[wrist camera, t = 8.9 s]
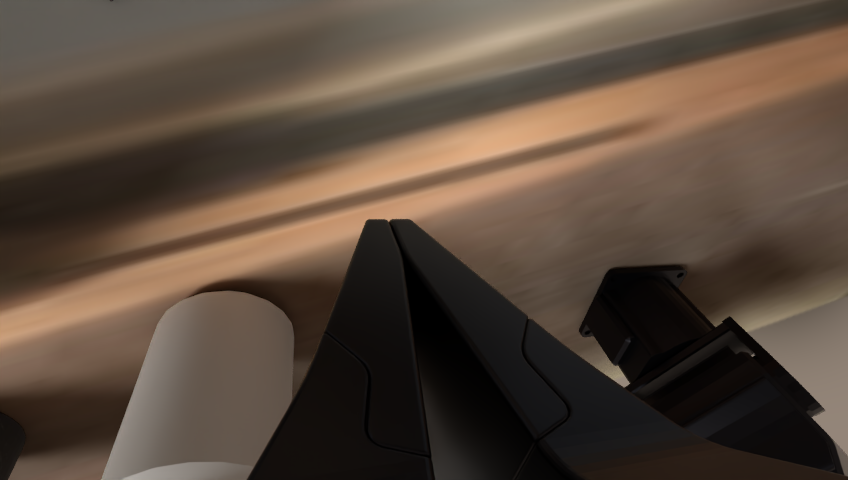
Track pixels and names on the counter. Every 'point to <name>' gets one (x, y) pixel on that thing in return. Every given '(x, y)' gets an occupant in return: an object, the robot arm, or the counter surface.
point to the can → (207, 391)
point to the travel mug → (9, 445)
